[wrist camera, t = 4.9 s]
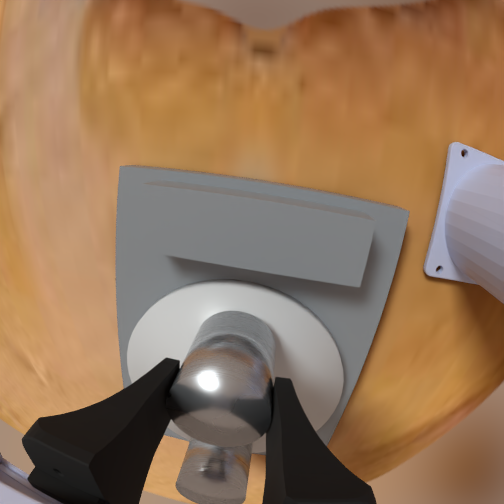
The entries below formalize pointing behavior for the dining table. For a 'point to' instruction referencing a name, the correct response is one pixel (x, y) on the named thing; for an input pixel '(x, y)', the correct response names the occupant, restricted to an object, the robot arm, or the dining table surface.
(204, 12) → the dining table surface
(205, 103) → the dining table surface
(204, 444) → the cylinder
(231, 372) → the cylinder
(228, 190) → the scale
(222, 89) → the dining table surface
